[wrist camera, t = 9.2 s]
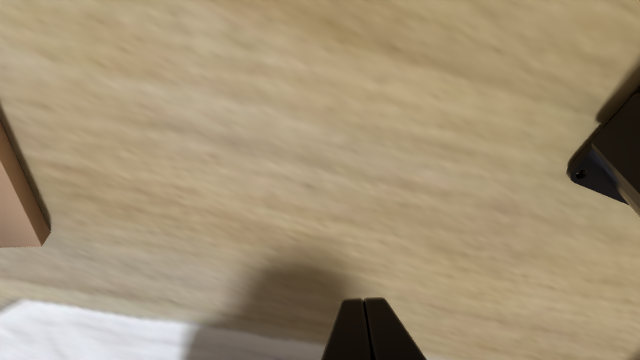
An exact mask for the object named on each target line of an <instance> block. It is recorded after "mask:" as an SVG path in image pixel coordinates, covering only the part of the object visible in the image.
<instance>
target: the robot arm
mask: <svg viewBox="0 0 640 360" xmlns="http://www.w3.org/2000/svg"><path fill="white" fill-rule="evenodd" d="M580 170H582V172H580V173H578V174H577V172H579V171H580ZM567 175H568V177H569V178H570V179H571V181H573V182H574V183H576V184H579V185H581V186H584V187H586V188H588V189H591V190H593V191H596V192H598V193H601V194H603V195H606V196H608V197H610V198H613V199H615V200H618V201H620V202H623V203H625V204H628V205H630V206H631V207H632V208H633V210H634V211H635V212H636V213H637V214H638V215H639V216H640V87H639V88H638V89H637V90H636V91H635V92H634V93H633V95H632V96H631V97H630V98H629V99H628V100H627V101H626V102H625V104H624V105H623V106H622V107H621V108H620V109H619V110H618V111H617V113H616V114H615V115H614V116H613V117H612V118H611V119H610V120H609V122H608V123H607V124H606V125H605V126H604V127H603V128H602V130H601V131H600V132H599V133H598V134H597V135H596V136H595V137H594V139H593V140H592V141H591V142H590V143H589V144H588V145H587V146H586V148H585V149H584V150H583V151H582V152H581V153H580V154H579V155H578V157H577V158H576V159H575V160H574V161H573V162H572V163H571V164H570V166H569V167H568V169H567ZM321 360H427V359H426V358H425V356H424V355H423V354H422V352H421V351H420V349H419V348H418V346H417V345H416V343H415V342H414V340H413V339H412V337H411V336H410V334H409V333H408V331H407V330H406V329H405V327H404V326H403V324H402V323H401V321H400V320H399V318H398V317H397V315H396V314H395V312H394V311H393V309H392V308H391V307H390V305H389V304H388V302H387V301H386V300H385V299H384V298H382V297H375V298H365V299H364V301H363V300H362V299H361V298H345V299H343V300H342V301H341V304H340V307H339V310H338V313H337V315H336V318H335V321H334V324H333V327H332V330H331V333H330V335H329V338H328V341H327V344H326V347H325V350H324V353H323V355H322V358H321Z"/></svg>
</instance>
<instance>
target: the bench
mask: <svg viewBox="0 0 640 360" xmlns="http://www.w3.org/2000/svg"><path fill="white" fill-rule="evenodd" d="M50 233H51V232H50V230H49V228H48V225H47V223H46V221H45V219H44V217H43V214H42V212H41V210H40V208H39V206H38V203H37V201H36V199H35V197H34V195H33V192H32V190H31V188H30V186H29V184H28V181H27V179H26V177H25V175H24V173H23V170H22V168H21V166H20V164H19V162H18V159H17V157H16V155H15V153H14V151H13V148H12V146H11V144H10V142H9V140H8V137H7V135H6V133H5V131H4V129H3V126H2V124H1V122H0V248H2V247H39V246H42V245H43V244H44V242H45V241H46V239H47V237H48V236H49V234H50Z"/></svg>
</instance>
